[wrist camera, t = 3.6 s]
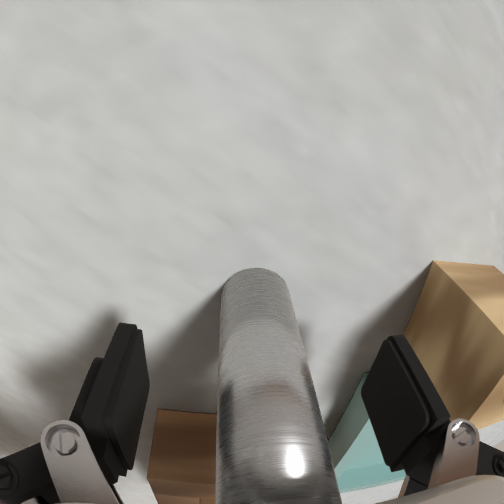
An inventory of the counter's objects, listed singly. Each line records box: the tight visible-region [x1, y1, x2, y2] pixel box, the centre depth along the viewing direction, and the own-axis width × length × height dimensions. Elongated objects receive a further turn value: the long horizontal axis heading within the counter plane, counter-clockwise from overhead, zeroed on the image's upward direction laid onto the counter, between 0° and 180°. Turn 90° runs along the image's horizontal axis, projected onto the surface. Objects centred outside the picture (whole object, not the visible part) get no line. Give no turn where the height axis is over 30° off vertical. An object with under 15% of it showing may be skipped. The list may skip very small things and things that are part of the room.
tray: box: [328, 373, 406, 493], centre depth 20 cm, size 14×12×2 cm
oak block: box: [403, 260, 504, 430], centre depth 12 cm, size 5×5×7 cm
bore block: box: [147, 409, 217, 504], centre depth 18 cm, size 10×10×5 cm
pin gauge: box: [216, 268, 342, 504], centre depth 10 cm, size 3×3×10 cm
